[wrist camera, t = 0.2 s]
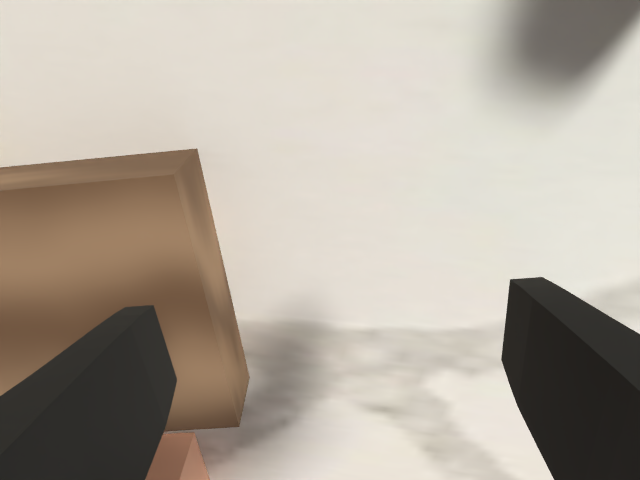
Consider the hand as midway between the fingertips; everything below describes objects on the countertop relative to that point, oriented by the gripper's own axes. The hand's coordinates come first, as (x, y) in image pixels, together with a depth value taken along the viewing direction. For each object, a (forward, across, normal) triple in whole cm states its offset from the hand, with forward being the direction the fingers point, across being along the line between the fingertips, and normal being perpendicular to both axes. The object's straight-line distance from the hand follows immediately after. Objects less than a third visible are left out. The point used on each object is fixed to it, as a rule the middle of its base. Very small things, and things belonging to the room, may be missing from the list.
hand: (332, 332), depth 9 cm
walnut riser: (+10, +11, +4) cm, 16 cm away
